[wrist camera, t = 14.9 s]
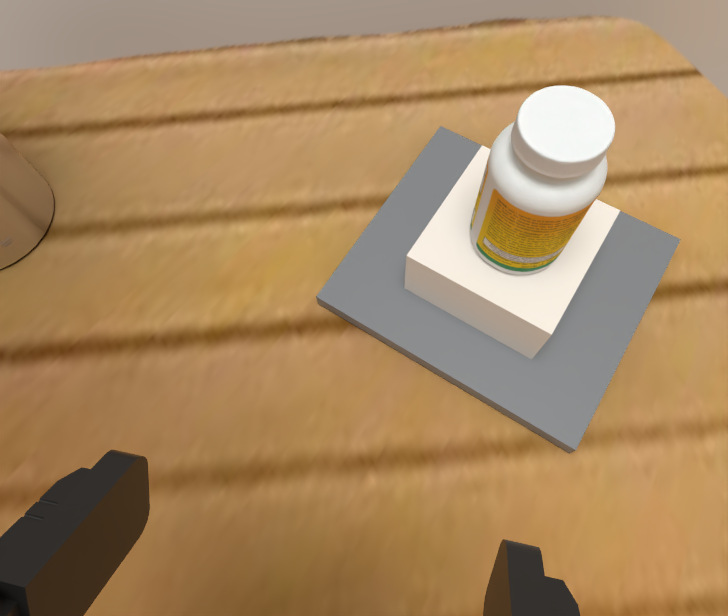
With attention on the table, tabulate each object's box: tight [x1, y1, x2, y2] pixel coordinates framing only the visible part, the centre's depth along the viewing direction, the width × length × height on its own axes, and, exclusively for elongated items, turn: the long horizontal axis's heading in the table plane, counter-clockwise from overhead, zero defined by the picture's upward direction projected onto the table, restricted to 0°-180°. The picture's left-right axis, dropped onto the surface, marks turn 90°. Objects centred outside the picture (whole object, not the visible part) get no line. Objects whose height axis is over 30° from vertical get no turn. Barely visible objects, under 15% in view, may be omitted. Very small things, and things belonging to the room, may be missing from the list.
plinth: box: [404, 145, 620, 360], centre depth 34 cm, size 9×9×4 cm
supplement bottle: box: [470, 86, 615, 275], centre depth 27 cm, size 5×5×10 cm
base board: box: [316, 126, 681, 453], centre depth 37 cm, size 18×16×1 cm
